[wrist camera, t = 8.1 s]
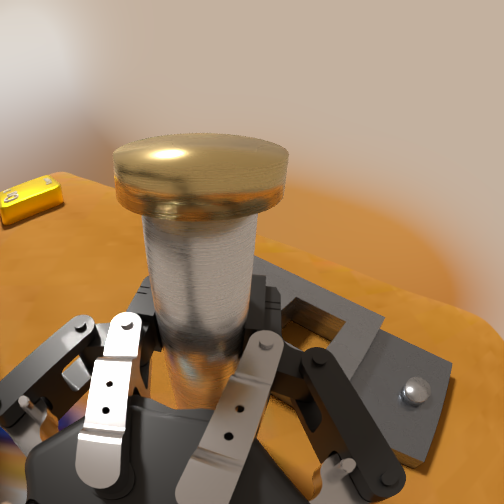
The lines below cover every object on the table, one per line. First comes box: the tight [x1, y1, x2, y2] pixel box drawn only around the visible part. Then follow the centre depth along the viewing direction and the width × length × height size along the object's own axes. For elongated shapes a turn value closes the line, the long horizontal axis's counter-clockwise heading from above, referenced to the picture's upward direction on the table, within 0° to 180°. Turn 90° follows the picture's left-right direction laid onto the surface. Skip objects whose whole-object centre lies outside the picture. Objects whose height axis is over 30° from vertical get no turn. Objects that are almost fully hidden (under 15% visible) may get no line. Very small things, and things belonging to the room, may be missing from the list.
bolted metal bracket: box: [252, 255, 452, 469], centre depth 24 cm, size 28×11×4 cm, turn 51°
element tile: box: [0, 175, 63, 225], centre depth 48 cm, size 15×15×5 cm
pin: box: [113, 133, 289, 410], centre depth 12 cm, size 5×5×15 cm
